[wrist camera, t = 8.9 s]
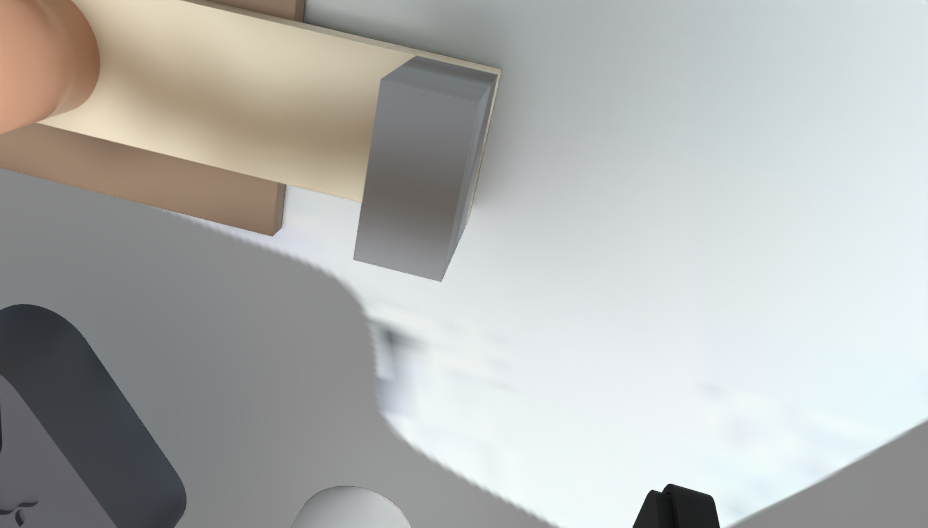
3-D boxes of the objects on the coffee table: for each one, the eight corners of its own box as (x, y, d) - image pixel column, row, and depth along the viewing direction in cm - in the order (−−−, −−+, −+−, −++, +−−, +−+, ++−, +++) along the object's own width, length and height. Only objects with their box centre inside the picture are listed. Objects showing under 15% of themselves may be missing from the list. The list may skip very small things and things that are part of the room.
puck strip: (-53, -60, 29) (-208, -60, 23) (501, 69, 28) (478, 102, 22) (-40, 92, 32) (-177, 126, 26) (469, 217, 30) (441, 281, 25)
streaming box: (55, 285, 36) (-24, 336, 32) (209, 512, 41) (160, 586, 36) (-142, 370, 41) (-238, 427, 36) (17, 568, 45) (-50, 641, 40)
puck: (-27, -35, 28) (-118, -31, 24) (99, -5, 28) (26, 3, 24) (-18, 97, 30) (-100, 119, 26) (100, 126, 30) (32, 152, 26)
